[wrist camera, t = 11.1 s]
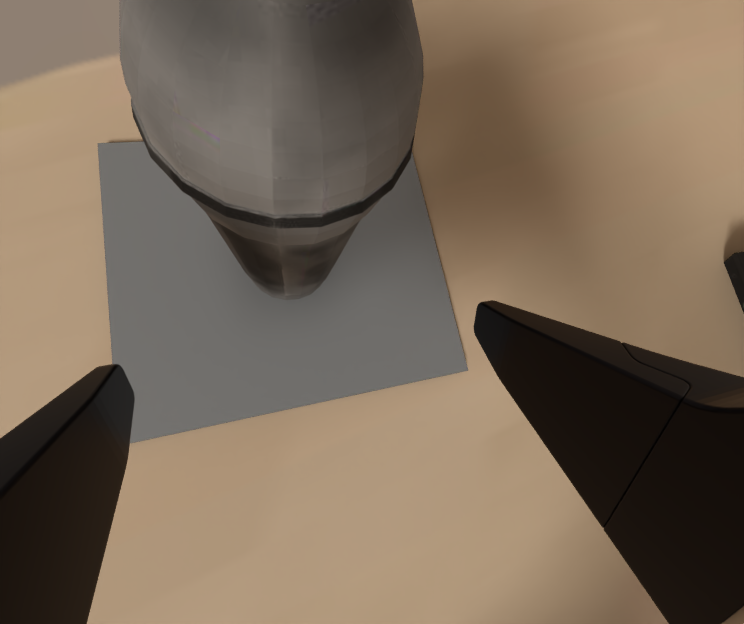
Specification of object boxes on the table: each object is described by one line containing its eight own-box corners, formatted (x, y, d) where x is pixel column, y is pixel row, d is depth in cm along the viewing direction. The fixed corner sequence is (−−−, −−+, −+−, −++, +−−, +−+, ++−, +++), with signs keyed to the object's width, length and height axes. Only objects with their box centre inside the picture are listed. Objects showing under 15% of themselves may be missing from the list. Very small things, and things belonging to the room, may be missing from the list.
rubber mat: (463, 371, 22) (468, 370, 21) (123, 444, 18) (117, 445, 17) (404, 137, 25) (406, 131, 24) (103, 150, 21) (97, 143, 20)
